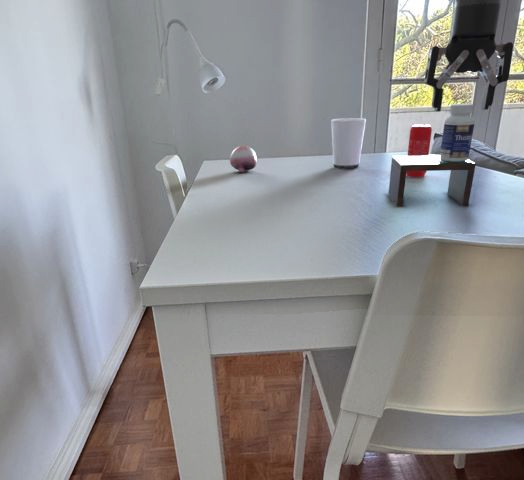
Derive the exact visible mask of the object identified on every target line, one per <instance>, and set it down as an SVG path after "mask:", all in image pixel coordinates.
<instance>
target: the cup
mask: <svg viewBox="0 0 524 480" xmlns="http://www.w3.org/2000/svg"><path fill="white" fill-rule="evenodd" d="M366 123H367V119H366V118H361V117H344V118H343V117H342V118H333V119H330V126H331V129H330V130H331V147H332V148H331V149H332V164H333V167H334V168H337V169H341V170H342V169H343V168H344V167H346V168H347V169H353V168H358V167H359V166H360V161H361V155H362V148H363V142H364V136H365V129H366Z"/></svg>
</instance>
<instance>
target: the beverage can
mask: <svg viewBox="0 0 524 480" xmlns="http://www.w3.org/2000/svg"><path fill="white" fill-rule="evenodd" d="M432 132H433V128H432V125H431V124H413V125H411V127H410V129H409V137H408V147H407V155H406V156H421V155H430V146H431V140H432V139H431V138H432ZM426 173H427V171H407V172H406V177H408V178H424V177H425V175H426Z"/></svg>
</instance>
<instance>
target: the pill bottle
mask: <svg viewBox="0 0 524 480" xmlns="http://www.w3.org/2000/svg"><path fill="white" fill-rule="evenodd" d="M473 111H474V104H473V103H455V104H451V105H450V108H449V114H450V116H448V117H447V118H445V120H444V123H443V130H442V137H441V144H440V151H439V155H440V160H442V161H448V162H461V161H466V160H469V156H470V152H471V146H472V140H473V134H474V129H475V124H476V120H475V118H474V117H473V116H472V113H473Z"/></svg>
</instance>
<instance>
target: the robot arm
mask: <svg viewBox="0 0 524 480" xmlns="http://www.w3.org/2000/svg"><path fill="white" fill-rule="evenodd" d="M452 1H453V2H452V5H453V7H452V14H451V21H450V30H449V37H448V43H447V45H446V46H445V47H440V46H438V45H433V46H430V48H429V50H428V56H427V62H426V67H425V73H424V80H423V83H424V84H425V85H427V86H430V87H431V88H432V91H433V92H432V100H431V108H432V109H434V112H441V111H442V105H443V97H444V90H445V89H444V88H443V87H444V85H445V84H446V83H447V82H448V81H449V79H450V78H451V77H453V75H454V74H464V73H479V74H480V76H482V79H483V80H484V82H485V84H486V85H485V86H484V88H483V92H482V93H483V94H482V99H481V105H480V109H481V110H483V111H485V110H489V107H491V106H492V105H493V103H494V97H495V93H496V87H497V86H498V85H499V84H501V83H504V82H507V81H508V80H509V77H510V72H511V65H512V63H511V62H512V57H513V49H514V43H513V42H511V41H508V42H507V41H506V42H504V43H500V44H499V43H498V44H496V40H495V39H496V34H497V29H498V23H499V15H500V9H501V4H502V0H452ZM494 53H496V57H497V58H499V60H498V69H497V75H496V74H495V72H494V69H493V67H492V65H491V63H490V61H489V60H490V59H491V57H492V56H493V55H494ZM443 55H444V56H445V58H446V60H447V62H448V63H447V65H446V66H445V68H444V69H443V70H442V72H441V73H440V74H439V76H438V77H437V79H436V78H435V75H436V70H437V64H438V61H439V62H440V61H441V59H442V57H443Z"/></svg>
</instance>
